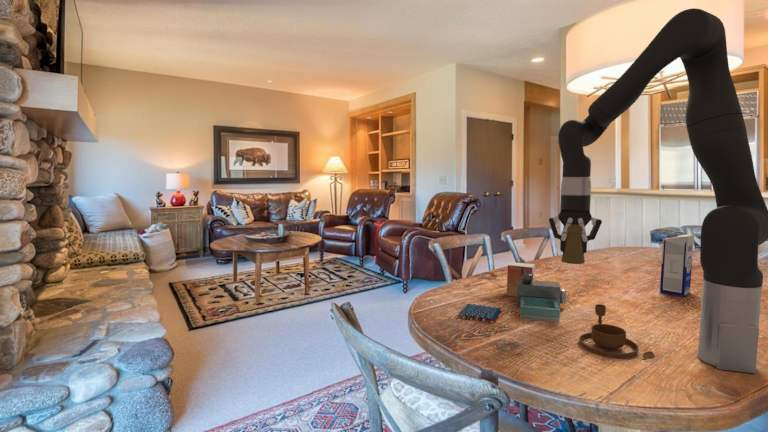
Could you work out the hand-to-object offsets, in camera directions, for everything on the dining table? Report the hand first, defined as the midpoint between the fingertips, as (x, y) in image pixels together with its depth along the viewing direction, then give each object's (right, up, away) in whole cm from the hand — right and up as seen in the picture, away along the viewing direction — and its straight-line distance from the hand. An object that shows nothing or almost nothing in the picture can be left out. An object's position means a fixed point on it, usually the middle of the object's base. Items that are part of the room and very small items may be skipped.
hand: (573, 253), depth 112 cm
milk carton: (+44, -15, +20) cm, 51 cm away
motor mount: (-8, -17, +4) cm, 19 cm away
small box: (-8, -16, +19) cm, 26 cm away
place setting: (+1, -20, -18) cm, 27 cm away
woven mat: (-26, -18, +1) cm, 32 cm away
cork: (0, -3, 0) cm, 3 cm away
